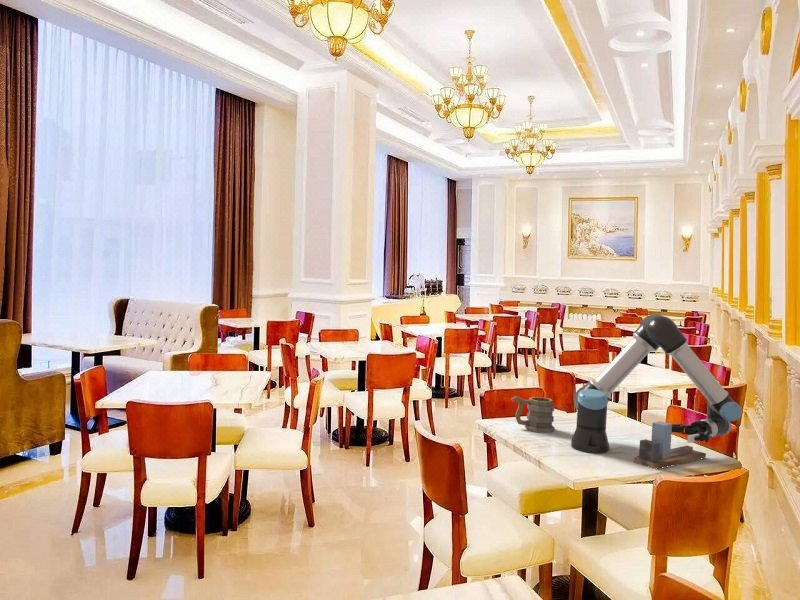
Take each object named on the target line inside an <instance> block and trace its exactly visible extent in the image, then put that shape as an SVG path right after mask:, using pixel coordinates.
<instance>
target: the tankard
mask: <svg viewBox="0 0 800 600" xmlns="http://www.w3.org/2000/svg"><path fill="white" fill-rule="evenodd" d="M510 399H511V401H512V403H515V402H516V401H517V402H518V407H517V409H516V412H515V421H516V422H517V424H518V425H522V426H524V428H525V429H526V431H530V432H533V433H538V434H539V433H542V434H543V433H544V434H549V433H553V432H555V429H556V427H555V426H554V425H553V423H554V420H555V417H554V416H553V412H555V406H554V400H553V399H552V398H549V397H543V396H542V397H541V396H531V397H529V399H523V398H521V397H519V396H518V395H516V396H514V397H512V398H510ZM524 404H525V405H527V409H528V412H527V413H526V419H525V420H522V419H521V414H522V412H523V410H524Z"/></svg>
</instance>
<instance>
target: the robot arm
mask: <svg viewBox="0 0 800 600" xmlns="http://www.w3.org/2000/svg"><path fill="white" fill-rule="evenodd" d="M632 334H633V335H632V339H631V340H630V341H629V343H628V344H626V346H625V347H624V348H623V349H622V350H620V352H619V353H618V354H617V356H616V357H615V358H613V360H612V361H611V362H610V363H609V364H608V365H607V367H605V369H603V371H602V372H601V373H600V374H598V376H597V377H596V378H595V379H590V380H588V381H587V383H586V384H584V386H582V387H580V388H578V389H577V391H576V392H575V394H574V395H573V396H574V397H573V405H574V407H575V409H576V413H577V414H576V427H575V431H574V433H573V436H572V438H571V441H570V446H571V448H572V449H574V450H577V451H580V452H583V453H584V452H585V453H593V454H604V453H608V452H609V451H610V442H609V439H608V435H607V415H608V413H607V412H608V405H609V404H608V403H609V402H610V400H612V393H613V392H614V391H615V390H616V389H617V387H618V386H620V384H621V383H622V382H623V381H624V380H625V379H626V378H627V377H628V376H629V375H630V374H631V373H632V371H634V369H635V368H636V367H637V366H638V365H639V364H640V363H641V362H642V361H643V360H644V358H645V357H647V356H648V355H649V353H650V352H653V353H654V352H657V350H659V348H660V349H662V351H664V353H665V354H666V355H669V356H671V357H672V359H673V360H674V361H675V363H677V364H678V366H679V367H680V368H681V370H682V371H683V372H684V373H685V374H686V375H687V377H688V378H689V379H690V381H691V383H693V384H694V385H695V386H696V388H697V389H698V390H699V391H700V393H701V394H702V395H703V396H704V398H705V399H706V400H707V407H706V409H707V412H706V418H705V419H699V420H694V421H693V422H691V423H690V424H688V425H684V424H683V423H676V424H675V423H674V424H673V423H671V424H672V433H677V434H682V435H687V440H686V441H687V442H686V443H688V444H691V443H696V442H697V443H698V442H704V443H709V442H710V439H712V438H715V437H722V436H725V435H727V434H729V433H730V432H731V430H732V423H731V422H734V421H737V420H738V419H740V418H741V417H742V415H743V412H742V411H743V410H742V408H741V406H740V405H739V404H738V403H737V402H736V401H734V399H733V398H732V397H731V396H730V395H729V391H728V390H725V389H724V387H723V386H722V385H721V384H720V383H719V381H718V380H717V379H716V377H715V376H714V375H713V374H712V372H711V371H710V370H709V369H708V367H706V365H705V364H704V363H703V362H702V360H701V359H700V358H699V357H698V356H697V354H696V353H695V352H694V351H693V350H692V348H691V347H690V346H689V344H688V339H687V338H686V336H685V335H684V334H683V332H681V330H680V329H679V327H678V325H677V324H676V323H675V322H674V321H673V320H672V319H671V318H669V317H667V316H665V315H661V314H656V313H655V314H654V313H653V314H649V315H648V316H646V317H644V318H643V319H642V320H641V321H640V324H639V325H638V327H637V328H636V329H635V331H634V332H633V333H632Z"/></svg>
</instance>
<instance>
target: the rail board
mask: <svg viewBox="0 0 800 600" xmlns="http://www.w3.org/2000/svg"><path fill="white" fill-rule="evenodd" d="M659 445H660V443H657V442H654V441H651V440H649V439H641V440H639V446H638V447H639V451H638V455H637V456H634V457H633V463H636V464H638V465H641V466H646V467H648V466H649V468H651V467H653V468H652V469H654V468H657V469H658V470H660V469H659V468H662V467H666V468H668V467H667V466H671V465H675V466H678V465H677V464H679V465H683V463H684V464H687V462H688V463H692V462H695V461H694V460H696V461H699V460H698V459H701V458H705V457H706V456H707V453H706V452H703V451H699V450H695V449H694V447H693V446H691V445H682V446H677V447H674V448H672V447H671V449H670V453H671V457H670V458H667V459H660V453H659ZM706 458H707V457H706ZM706 458H705V459H706ZM701 460H702V459H701ZM691 461H692V462H691ZM671 467H672V466H671ZM657 469H656V470H657ZM662 469H663V468H662Z"/></svg>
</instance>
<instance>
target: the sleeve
mask: <svg viewBox="0 0 800 600" xmlns="http://www.w3.org/2000/svg"><path fill="white" fill-rule="evenodd" d="M672 424H673V423H668V422H665V421H655V422H652V424H651V425H652V426H651V440H650V441H654V442H657V443H660V445H659V453H660V459H667V458H670V457H671V453H670V449H672V433H673V432H672Z"/></svg>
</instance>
